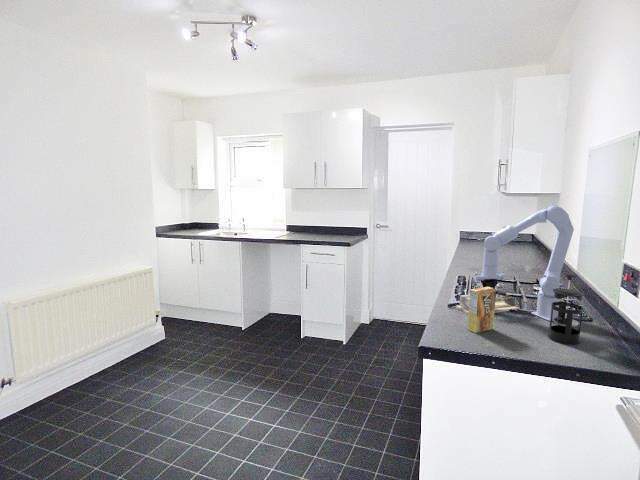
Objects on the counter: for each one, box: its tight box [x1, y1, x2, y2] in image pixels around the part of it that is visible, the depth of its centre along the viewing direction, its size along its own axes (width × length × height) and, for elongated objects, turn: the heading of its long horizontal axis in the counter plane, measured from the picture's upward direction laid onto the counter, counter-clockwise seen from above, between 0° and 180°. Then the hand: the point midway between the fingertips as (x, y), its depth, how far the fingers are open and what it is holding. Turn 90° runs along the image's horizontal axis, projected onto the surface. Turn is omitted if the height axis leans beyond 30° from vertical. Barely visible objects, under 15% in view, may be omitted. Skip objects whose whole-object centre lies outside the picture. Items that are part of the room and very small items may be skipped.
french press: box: [547, 272, 585, 346], centre depth 136 cm, size 12×9×23 cm
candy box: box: [467, 286, 497, 334], centre depth 145 cm, size 9×4×15 cm, turn 116°
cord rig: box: [455, 294, 521, 315], centre depth 169 cm, size 10×24×6 cm, turn 106°
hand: (488, 296), depth 168 cm, fingers closed
